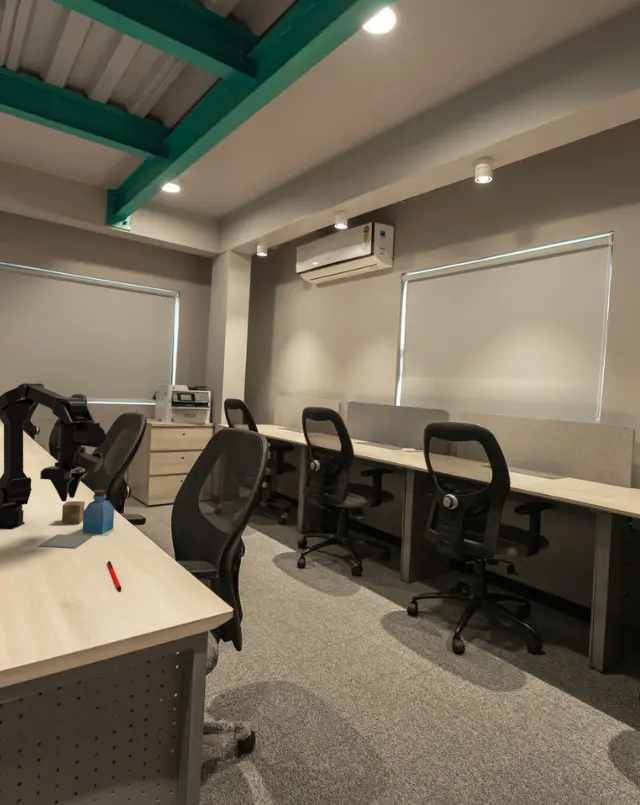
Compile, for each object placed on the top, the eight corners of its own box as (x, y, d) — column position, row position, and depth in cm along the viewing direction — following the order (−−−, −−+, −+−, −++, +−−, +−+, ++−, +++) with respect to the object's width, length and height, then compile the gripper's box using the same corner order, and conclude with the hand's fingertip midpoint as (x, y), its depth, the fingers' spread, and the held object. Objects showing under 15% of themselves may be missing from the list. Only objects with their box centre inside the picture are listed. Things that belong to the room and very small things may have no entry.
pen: (110, 563, 123) (110, 558, 123) (122, 592, 107) (122, 587, 107) (106, 563, 123) (106, 559, 123) (118, 593, 106) (118, 588, 106)
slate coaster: (38, 546, 131) (38, 545, 131) (57, 535, 141) (57, 534, 141) (75, 548, 131) (75, 547, 131) (92, 537, 141) (92, 535, 141)
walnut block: (61, 524, 151) (62, 505, 151) (67, 519, 156) (67, 501, 156) (79, 524, 152) (80, 505, 152) (83, 519, 157) (84, 501, 157)
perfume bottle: (102, 534, 144) (104, 493, 144) (82, 532, 144) (84, 492, 144) (113, 528, 150) (115, 489, 150) (94, 526, 151) (95, 488, 150)
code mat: (75, 534, 143) (75, 534, 143) (90, 526, 152) (90, 525, 152) (106, 536, 143) (106, 535, 143) (119, 527, 152) (119, 527, 152)
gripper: (83, 449, 126) (80, 509, 127) (113, 441, 145) (111, 493, 145) (40, 447, 126) (37, 507, 127) (75, 439, 145) (73, 491, 145)
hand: (67, 499), depth 136 cm, fingers open, 4 cm apart
